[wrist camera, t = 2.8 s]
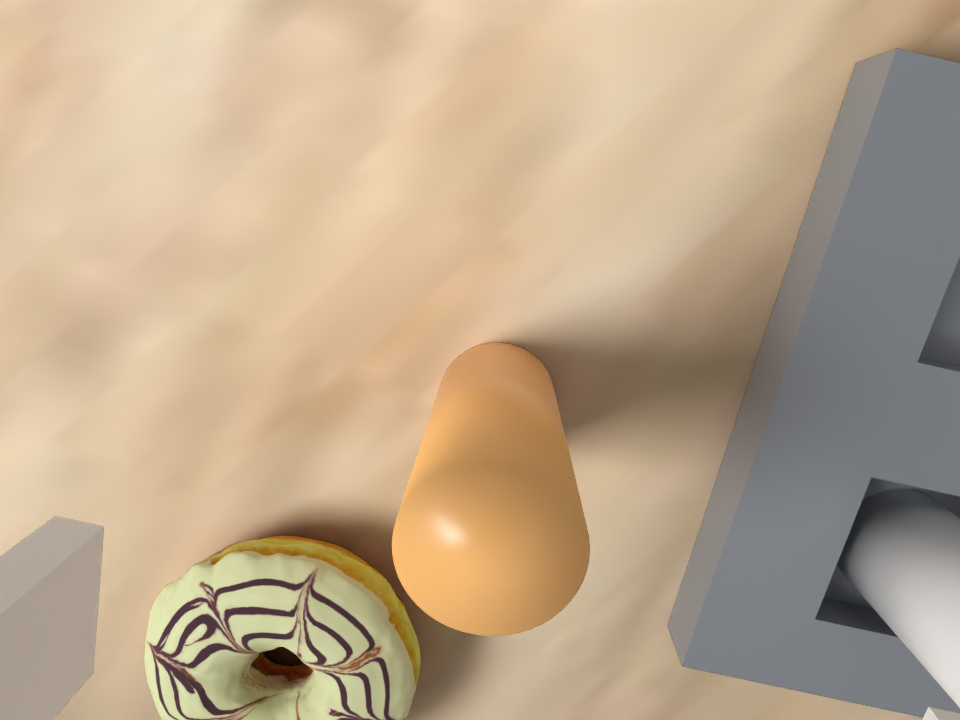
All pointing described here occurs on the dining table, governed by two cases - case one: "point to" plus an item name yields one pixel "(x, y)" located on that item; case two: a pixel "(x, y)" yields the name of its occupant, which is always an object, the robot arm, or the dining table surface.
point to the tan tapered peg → (492, 500)
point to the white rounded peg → (911, 575)
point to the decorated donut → (281, 637)
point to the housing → (842, 405)
